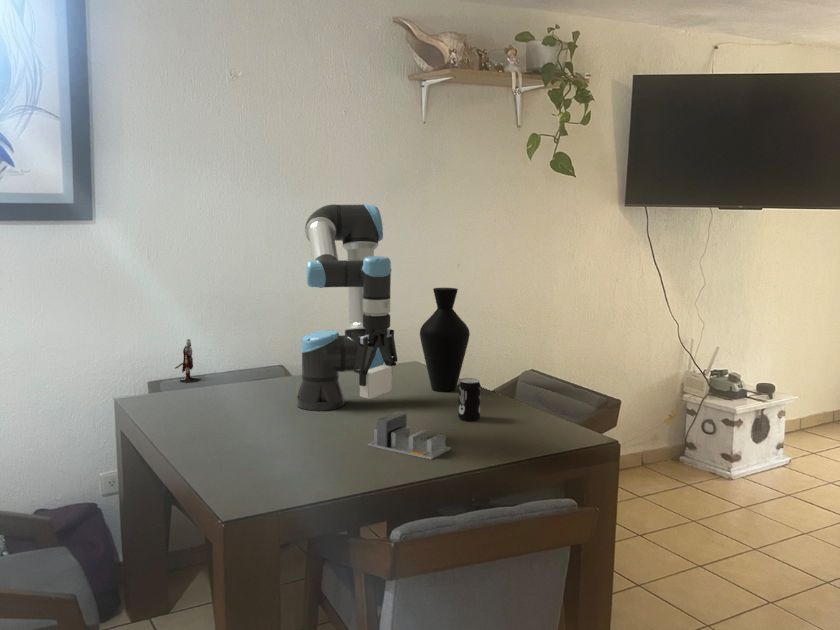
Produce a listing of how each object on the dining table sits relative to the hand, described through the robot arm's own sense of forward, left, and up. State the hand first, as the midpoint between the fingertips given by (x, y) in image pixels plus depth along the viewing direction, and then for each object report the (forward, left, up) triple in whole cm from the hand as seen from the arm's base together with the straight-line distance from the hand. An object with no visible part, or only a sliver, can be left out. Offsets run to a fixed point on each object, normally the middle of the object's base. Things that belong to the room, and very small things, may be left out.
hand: (376, 392), depth 221 cm
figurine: (-93, +15, -13) cm, 95 cm away
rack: (+13, -3, -12) cm, 19 cm away
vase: (-12, +57, -13) cm, 59 cm away
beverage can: (+13, +30, -13) cm, 35 cm away
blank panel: (0, 0, 0) cm, 0 cm away
